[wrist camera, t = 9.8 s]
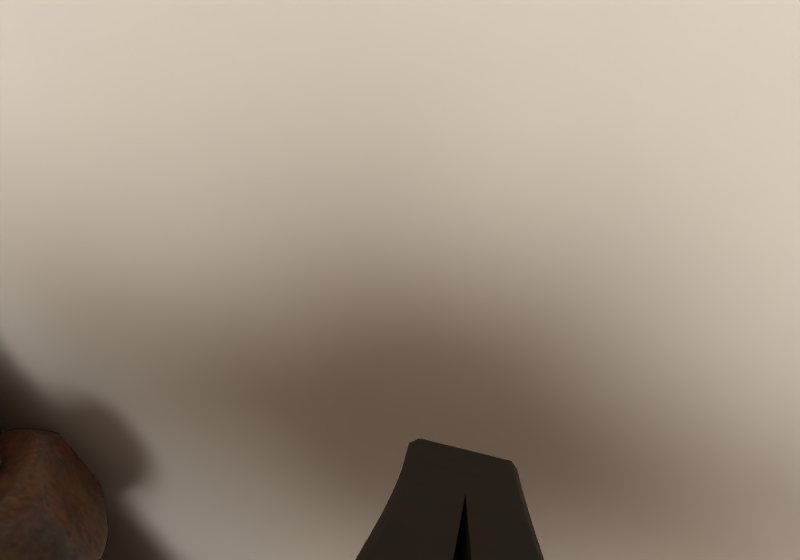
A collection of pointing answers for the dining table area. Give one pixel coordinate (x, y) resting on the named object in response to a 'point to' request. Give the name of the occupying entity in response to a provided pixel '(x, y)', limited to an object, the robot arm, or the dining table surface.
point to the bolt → (48, 500)
